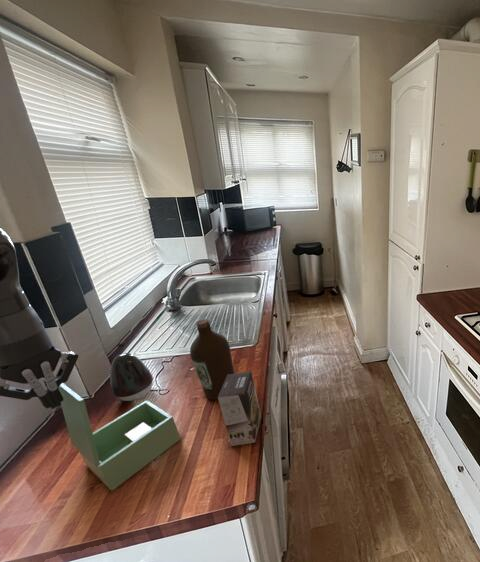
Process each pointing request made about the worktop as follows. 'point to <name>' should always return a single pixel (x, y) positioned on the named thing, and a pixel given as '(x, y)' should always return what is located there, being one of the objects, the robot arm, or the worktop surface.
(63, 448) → the worktop surface
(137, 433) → the block
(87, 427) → the chest lid
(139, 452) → the chest
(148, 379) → the dark rounded dome
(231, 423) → the coffee box
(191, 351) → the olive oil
